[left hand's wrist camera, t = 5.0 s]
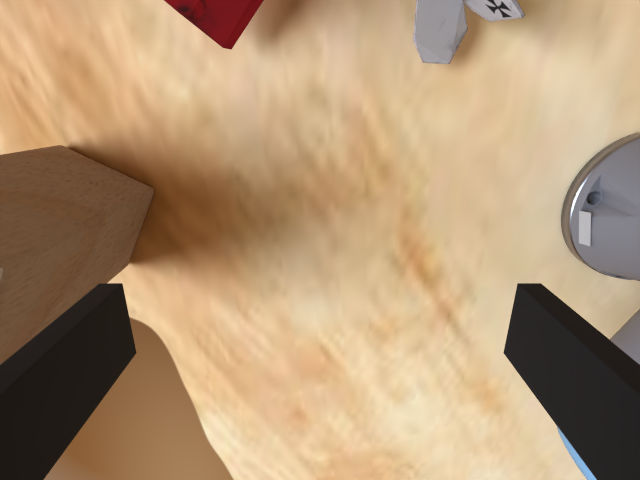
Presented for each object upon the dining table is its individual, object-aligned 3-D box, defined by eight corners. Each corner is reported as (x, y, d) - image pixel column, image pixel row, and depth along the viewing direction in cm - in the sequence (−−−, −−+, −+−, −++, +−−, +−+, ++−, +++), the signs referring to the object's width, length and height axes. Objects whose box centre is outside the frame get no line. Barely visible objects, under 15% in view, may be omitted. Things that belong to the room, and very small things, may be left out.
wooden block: (157, 188, 39) (4, 268, 20) (128, 266, 42) (-28, 401, 23) (60, 142, 37) (-204, 184, 18) (38, 228, 40) (-209, 338, 21)
